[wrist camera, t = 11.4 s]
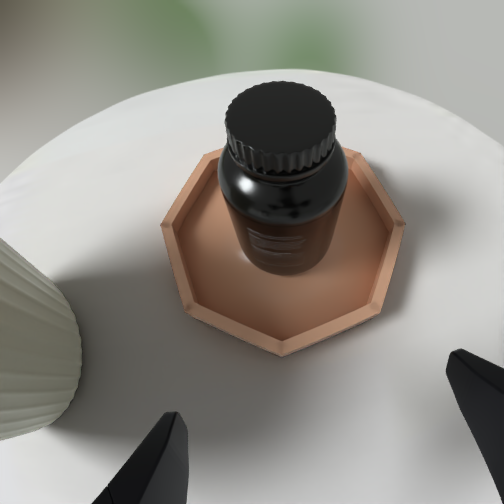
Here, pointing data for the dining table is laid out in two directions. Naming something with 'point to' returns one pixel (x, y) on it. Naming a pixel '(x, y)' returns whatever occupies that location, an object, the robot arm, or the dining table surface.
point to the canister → (34, 347)
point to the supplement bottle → (282, 175)
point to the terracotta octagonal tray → (275, 286)
